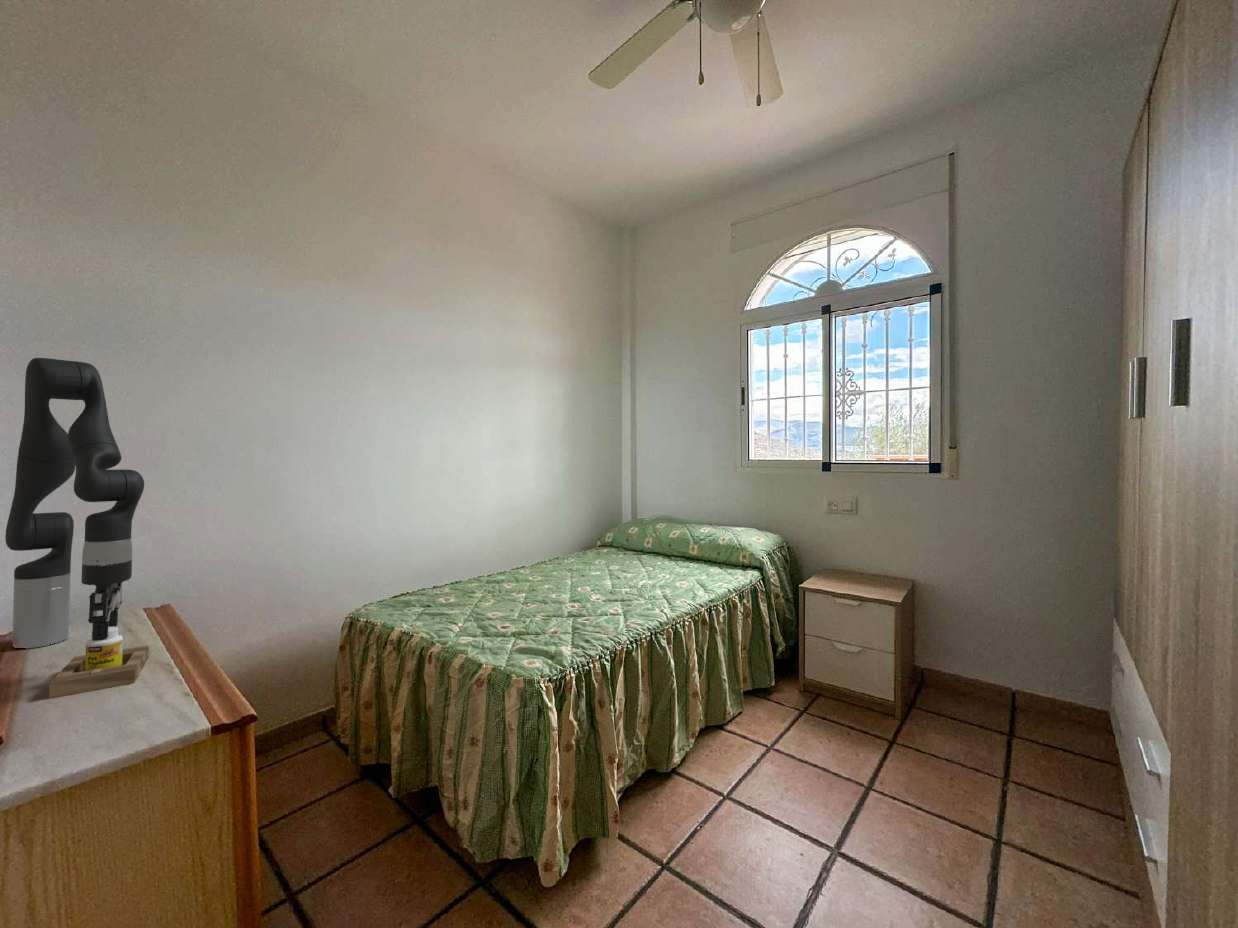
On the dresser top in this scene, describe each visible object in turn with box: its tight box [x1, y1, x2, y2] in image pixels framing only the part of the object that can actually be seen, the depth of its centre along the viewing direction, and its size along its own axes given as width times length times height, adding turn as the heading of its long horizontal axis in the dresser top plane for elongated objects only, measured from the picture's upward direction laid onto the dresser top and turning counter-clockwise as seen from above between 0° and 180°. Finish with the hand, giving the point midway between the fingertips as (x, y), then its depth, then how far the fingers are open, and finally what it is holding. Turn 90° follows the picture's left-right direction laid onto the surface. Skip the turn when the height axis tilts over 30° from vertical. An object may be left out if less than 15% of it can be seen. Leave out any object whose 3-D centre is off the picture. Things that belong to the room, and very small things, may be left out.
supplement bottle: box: [85, 626, 124, 671], centre depth 104 cm, size 6×6×10 cm
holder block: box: [48, 644, 150, 699], centre depth 104 cm, size 16×12×3 cm
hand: (105, 633), depth 105 cm, fingers open, 8 cm apart
